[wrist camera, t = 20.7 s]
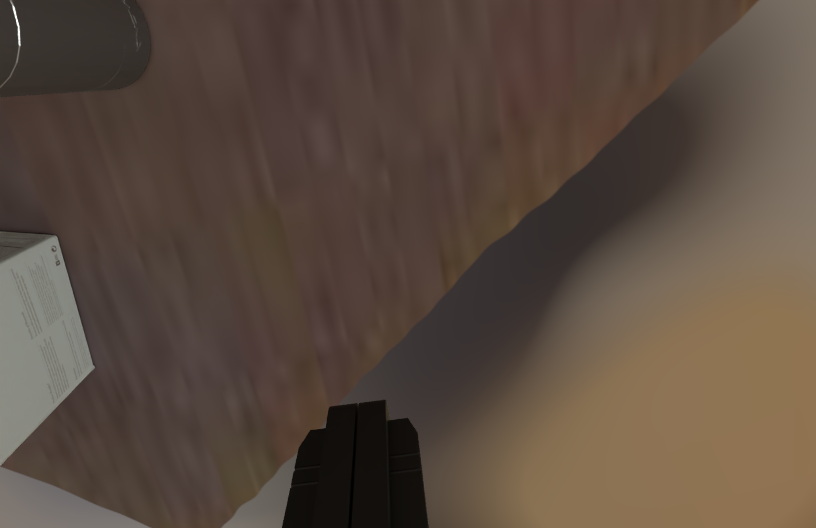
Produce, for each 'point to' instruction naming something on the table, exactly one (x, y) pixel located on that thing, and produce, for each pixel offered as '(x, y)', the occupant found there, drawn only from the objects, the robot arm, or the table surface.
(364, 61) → the table surface
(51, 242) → the supplement box
